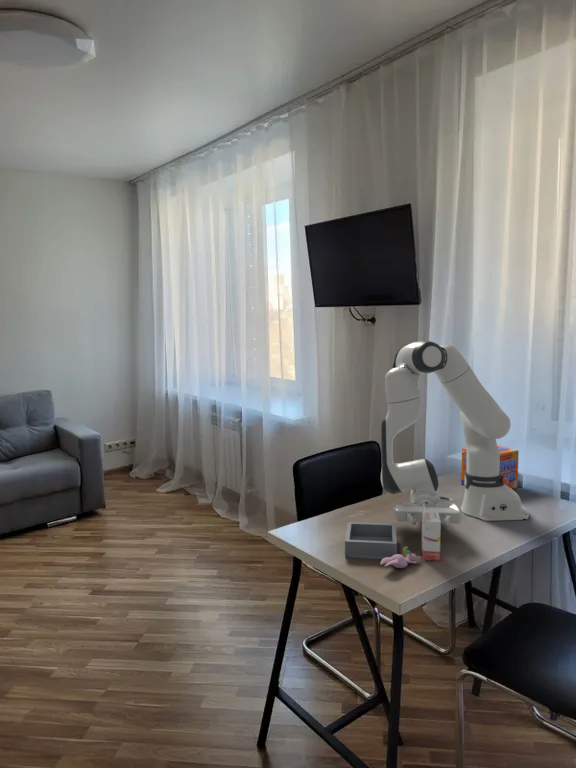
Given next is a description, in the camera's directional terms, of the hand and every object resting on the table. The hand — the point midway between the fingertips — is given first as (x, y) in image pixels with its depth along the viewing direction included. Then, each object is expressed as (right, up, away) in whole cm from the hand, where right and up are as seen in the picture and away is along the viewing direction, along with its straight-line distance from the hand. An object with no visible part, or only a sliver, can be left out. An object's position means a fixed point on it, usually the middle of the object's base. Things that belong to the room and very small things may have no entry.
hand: (429, 522), depth 166 cm
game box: (+39, 0, +59) cm, 71 cm away
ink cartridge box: (0, -9, -3) cm, 9 cm away
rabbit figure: (-11, -10, -10) cm, 18 cm away
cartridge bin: (-17, -8, +2) cm, 19 cm away
